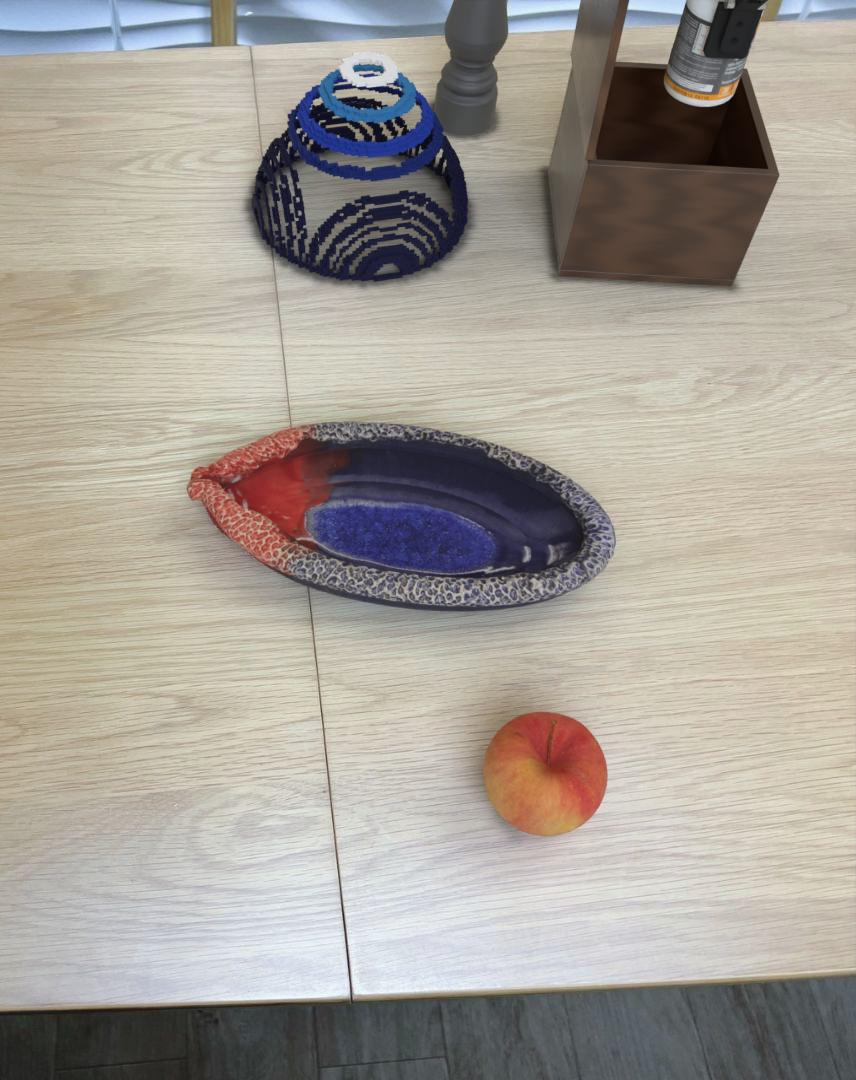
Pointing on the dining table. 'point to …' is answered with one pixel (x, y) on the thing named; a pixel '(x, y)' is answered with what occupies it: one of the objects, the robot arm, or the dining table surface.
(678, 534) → the dining table surface
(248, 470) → the dish
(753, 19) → the robot arm
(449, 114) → the candle holder
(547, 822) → the apple
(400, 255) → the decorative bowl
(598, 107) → the lid
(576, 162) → the chest
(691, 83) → the pill bottle
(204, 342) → the dining table surface
